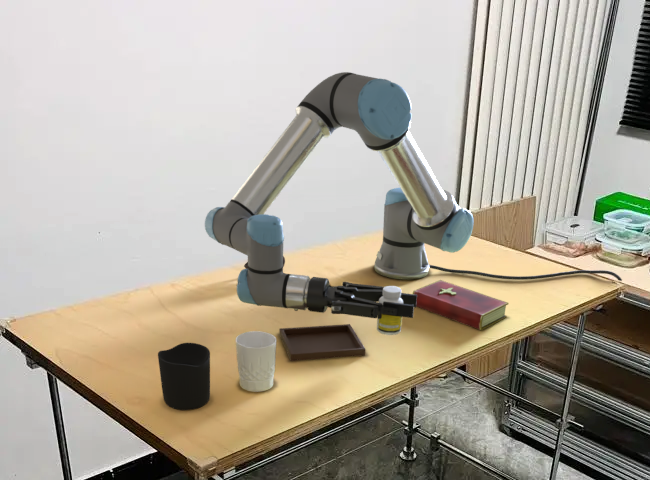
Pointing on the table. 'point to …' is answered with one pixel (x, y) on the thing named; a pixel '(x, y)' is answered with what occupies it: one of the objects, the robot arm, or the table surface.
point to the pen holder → (185, 376)
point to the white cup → (256, 360)
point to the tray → (321, 342)
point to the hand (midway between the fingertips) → (414, 306)
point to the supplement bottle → (388, 322)
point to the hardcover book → (460, 304)
